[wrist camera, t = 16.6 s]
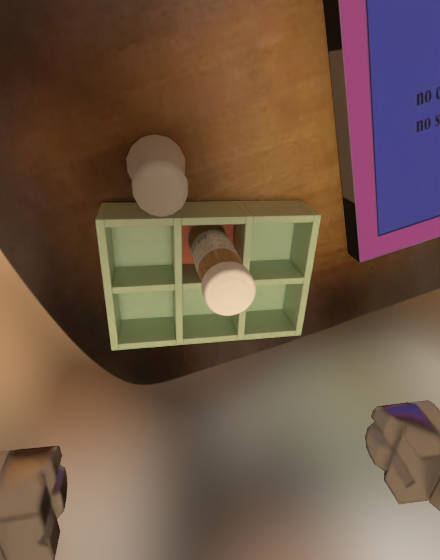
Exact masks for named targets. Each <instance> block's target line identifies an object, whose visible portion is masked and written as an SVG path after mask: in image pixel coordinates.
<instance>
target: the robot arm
mask: <svg viewBox="0 0 440 560" xmlns="http://www.w3.org/2000/svg"><path fill="white" fill-rule="evenodd" d="M371 417H372V419H373V420H374V423H373V424H371V425H370V426H369V427H368V428H367V432H366V436H365V440H366V447H367V450H368V453H369V455H370V457H371V459H372V461H373V462H374V464H375V465H377V466H378V467H379V468H381V469H382V470H384V471H385V473H384V481H385V482H386V484H387V485H388V487H389V489H390V490H391V492H392V494H393V495H394V497H395V499H396V500H397V502H398V503H399V504H405V503H413V502H420V501H427V500H430V501H429V502H430V503H431V504H432V505H433V506H434V507H436V508H437V509H438V510H439V511H440V410H439V409H438V408H437V407H436V406H435V404H433V403H432V402H430V401H428V400H427V401H419V402H411V403H400V404H393V405H385V406H378V407H376V408H375V409H374V410H373V412H372V415H371ZM61 457H62V454H61V451H60V447H59V446H51V447H40V448H30V449H19V450H10V451H0V560H54V559H55V554H56V549H57V544H58V539H59V534H60V529H59V526H58V522H57V518H58V517H59V516H60V515H61V514H62V513H63V511H64V508H65V502H66V494H67V475H66V470H65V467H63V466H61V465H60V461H61Z"/></svg>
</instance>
